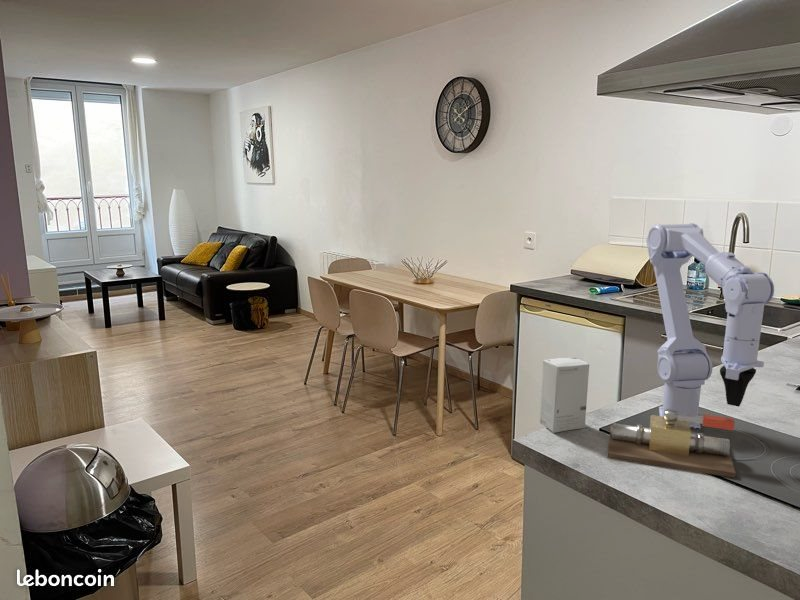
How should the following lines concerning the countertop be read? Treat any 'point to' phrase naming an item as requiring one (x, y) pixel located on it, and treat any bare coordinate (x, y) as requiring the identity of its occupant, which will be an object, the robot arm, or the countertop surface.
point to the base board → (671, 458)
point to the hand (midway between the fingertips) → (733, 404)
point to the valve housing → (671, 437)
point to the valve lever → (700, 419)
